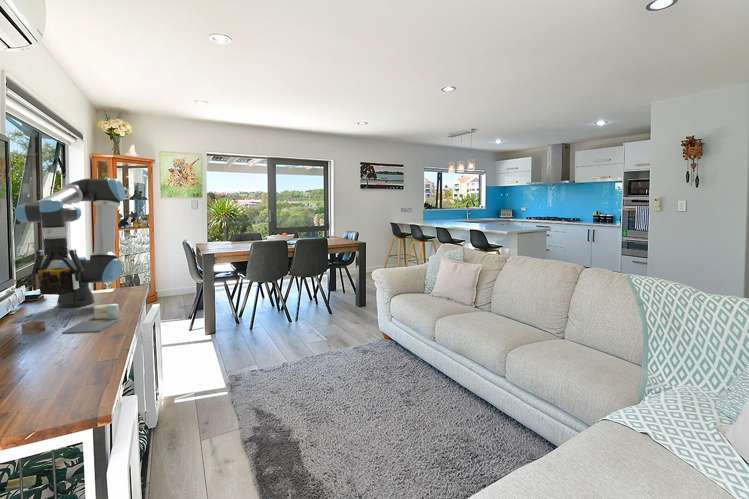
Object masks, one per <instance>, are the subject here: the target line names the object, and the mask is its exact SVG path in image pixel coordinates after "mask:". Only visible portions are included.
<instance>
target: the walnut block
mask: <svg viewBox="0 0 749 499" xmlns="http://www.w3.org/2000/svg"><path fill="white" fill-rule="evenodd" d="M20 326H21V334H22V335H32V336H33V335H37V334H40V333H42V332H44V331H45V332H46V324H45V320H43V321H42V320H32V321H28V322H25V323H22V324H20Z"/></svg>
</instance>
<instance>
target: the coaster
mask: <svg viewBox="0 0 749 499" xmlns="http://www.w3.org/2000/svg"><path fill="white" fill-rule="evenodd" d="M118 321H119V320H118V319H114V320H108V319H107V320H106V319H105V320H104V319H103V320H87V321H86V320H85V321H83V320H81V322H79V323H76V324H75V325H73V326H71V327H69V328H67V329H66V330H63V331H61V334H81V333H83V334H84V333H99V332H103V331H104V330H106V329H107V328H109V327H111V326H112V325H114V324H115V323H117V322H118Z"/></svg>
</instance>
